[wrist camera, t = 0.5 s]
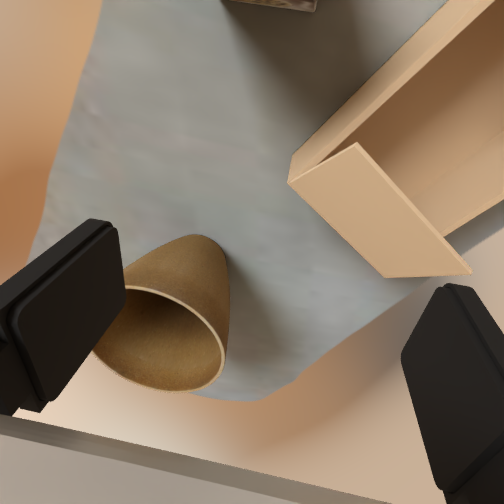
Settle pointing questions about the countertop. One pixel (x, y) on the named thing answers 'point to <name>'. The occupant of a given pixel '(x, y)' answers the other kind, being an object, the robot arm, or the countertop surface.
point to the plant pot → (171, 318)
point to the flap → (377, 217)
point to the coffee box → (286, 4)
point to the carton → (431, 116)
